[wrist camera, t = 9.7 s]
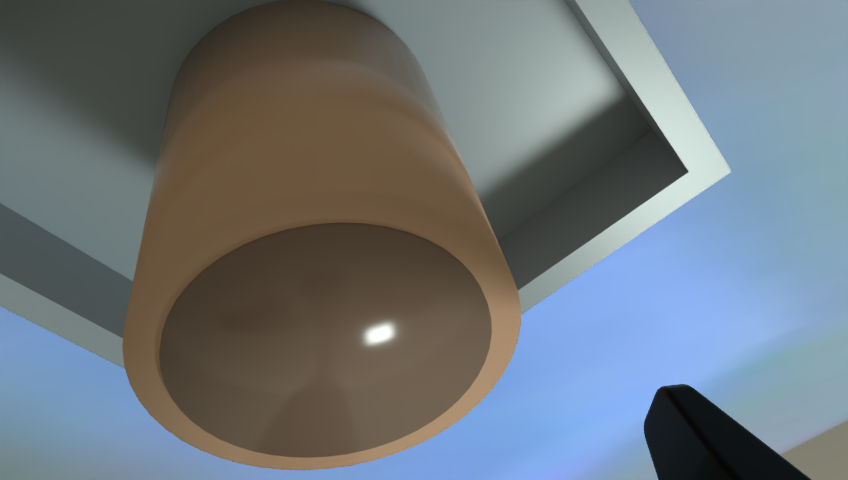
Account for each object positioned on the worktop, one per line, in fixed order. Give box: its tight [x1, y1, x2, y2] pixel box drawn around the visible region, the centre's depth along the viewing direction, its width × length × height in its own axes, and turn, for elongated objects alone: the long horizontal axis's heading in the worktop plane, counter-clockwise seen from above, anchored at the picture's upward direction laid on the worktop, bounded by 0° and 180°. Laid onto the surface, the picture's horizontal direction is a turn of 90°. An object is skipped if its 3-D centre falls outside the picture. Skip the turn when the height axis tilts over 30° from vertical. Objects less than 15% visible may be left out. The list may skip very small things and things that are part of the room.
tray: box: [0, 0, 731, 369], centre depth 16 cm, size 14×14×3 cm
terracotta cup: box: [122, 0, 521, 470], centre depth 13 cm, size 6×6×7 cm
